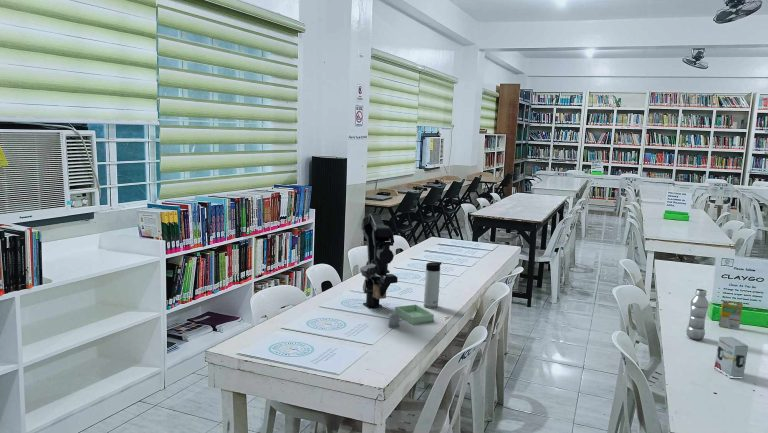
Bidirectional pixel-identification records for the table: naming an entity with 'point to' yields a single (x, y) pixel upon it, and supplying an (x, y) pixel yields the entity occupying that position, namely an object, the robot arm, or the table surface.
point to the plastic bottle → (698, 315)
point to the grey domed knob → (394, 320)
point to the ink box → (731, 356)
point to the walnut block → (377, 292)
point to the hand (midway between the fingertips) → (379, 294)
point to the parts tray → (414, 314)
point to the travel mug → (432, 285)
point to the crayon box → (730, 315)
